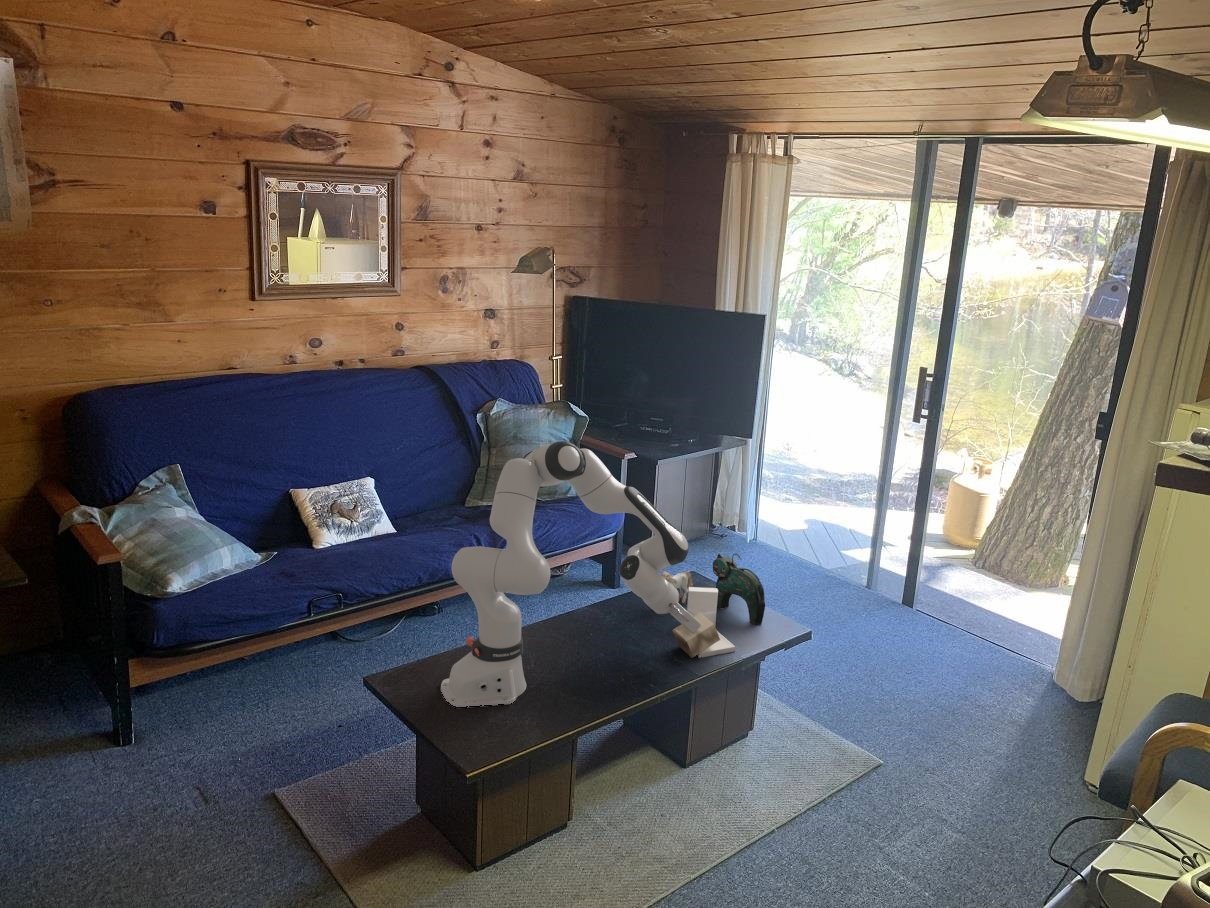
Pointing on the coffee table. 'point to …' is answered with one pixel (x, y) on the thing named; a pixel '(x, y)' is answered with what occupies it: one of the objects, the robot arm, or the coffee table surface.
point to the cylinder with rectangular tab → (703, 602)
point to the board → (718, 647)
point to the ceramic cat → (739, 587)
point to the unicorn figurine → (679, 582)
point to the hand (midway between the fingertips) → (691, 624)
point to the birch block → (696, 636)
